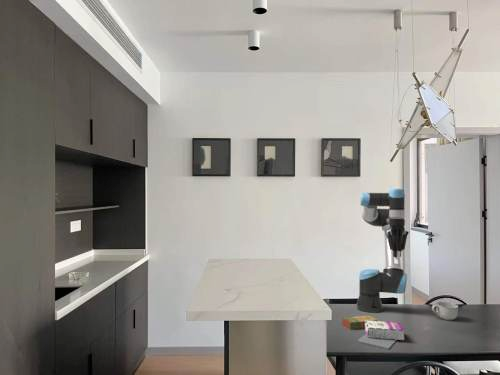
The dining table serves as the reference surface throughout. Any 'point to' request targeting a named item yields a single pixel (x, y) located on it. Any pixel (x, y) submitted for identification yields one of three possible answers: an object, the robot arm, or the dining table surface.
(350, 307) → the dining table surface
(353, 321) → the carton
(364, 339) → the mat
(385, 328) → the candy bar box
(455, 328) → the dining table surface
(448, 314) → the teacup
